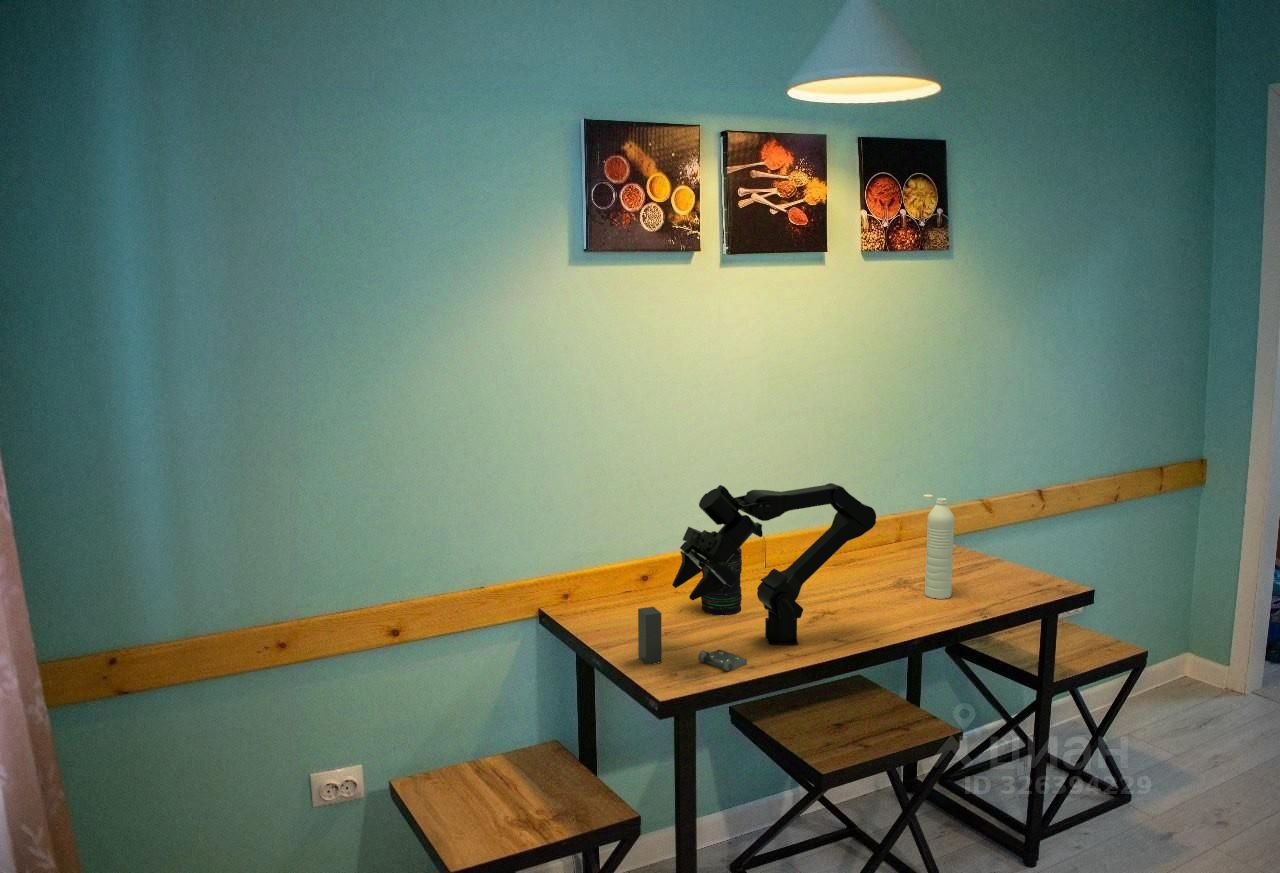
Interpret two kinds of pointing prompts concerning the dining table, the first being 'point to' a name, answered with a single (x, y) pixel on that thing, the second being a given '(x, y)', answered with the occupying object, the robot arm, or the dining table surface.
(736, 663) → the fixed hinge leaf
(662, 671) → the dining table surface
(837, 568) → the dining table surface
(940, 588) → the water bottle
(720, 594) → the storage jar
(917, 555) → the dining table surface
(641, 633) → the dark grey block
